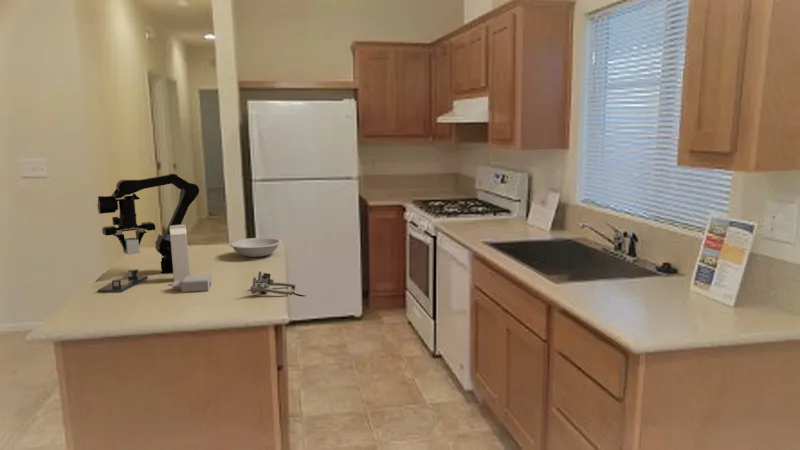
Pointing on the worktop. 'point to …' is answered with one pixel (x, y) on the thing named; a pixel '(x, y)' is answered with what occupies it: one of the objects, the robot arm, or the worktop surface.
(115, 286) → the shaft stand
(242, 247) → the soup bowl
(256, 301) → the worktop surface
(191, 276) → the charger
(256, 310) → the worktop surface
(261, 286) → the bike brake
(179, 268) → the milk
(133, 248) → the block
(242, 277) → the worktop surface
